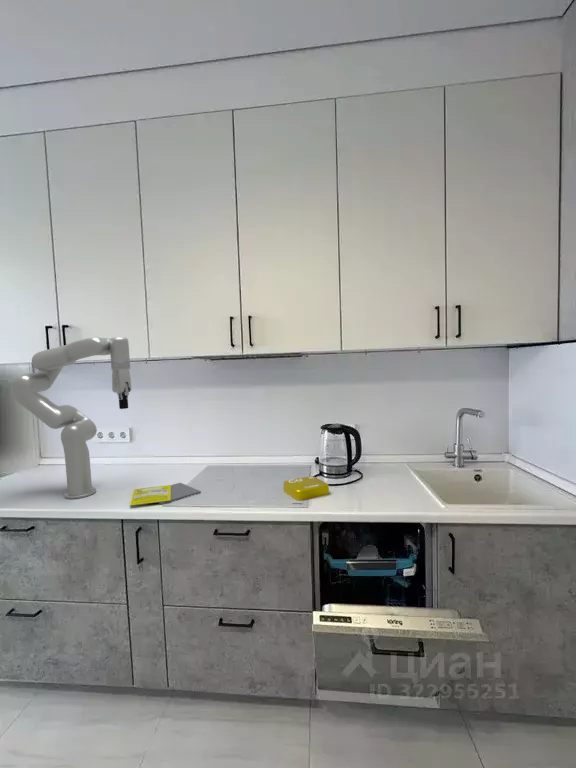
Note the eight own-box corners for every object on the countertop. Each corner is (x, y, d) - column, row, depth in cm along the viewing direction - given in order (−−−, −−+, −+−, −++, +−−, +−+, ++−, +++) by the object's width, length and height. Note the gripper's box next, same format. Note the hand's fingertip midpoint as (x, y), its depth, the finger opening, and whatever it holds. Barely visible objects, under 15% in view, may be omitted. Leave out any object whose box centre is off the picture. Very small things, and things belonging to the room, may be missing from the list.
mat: (142, 494, 173) (142, 493, 172) (180, 484, 185) (180, 482, 185) (161, 505, 159) (160, 503, 159) (200, 492, 172) (200, 491, 172)
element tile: (297, 502, 157) (297, 490, 157) (282, 491, 171) (281, 480, 170) (330, 495, 163) (330, 483, 163) (313, 485, 177) (312, 474, 177)
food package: (134, 490, 176) (129, 506, 157) (134, 487, 176) (129, 503, 157) (170, 486, 180) (170, 501, 161) (170, 483, 180) (170, 498, 161)
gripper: (105, 366, 176) (108, 408, 177) (118, 366, 165) (121, 410, 166) (122, 366, 181) (125, 406, 182) (136, 365, 170) (139, 408, 171)
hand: (123, 408), depth 174 cm, fingers closed
